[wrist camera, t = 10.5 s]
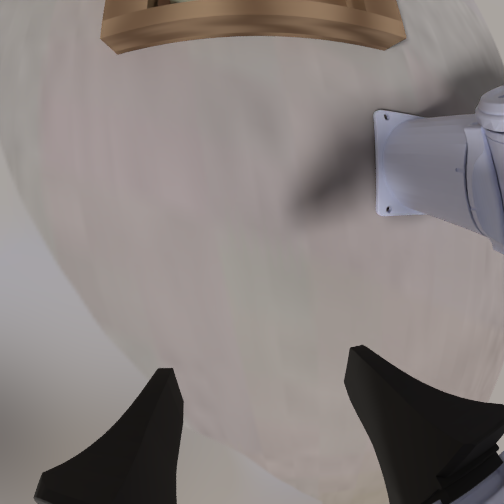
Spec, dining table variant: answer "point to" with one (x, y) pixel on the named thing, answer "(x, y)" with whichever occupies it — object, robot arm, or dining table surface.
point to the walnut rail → (250, 21)
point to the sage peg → (179, 1)
